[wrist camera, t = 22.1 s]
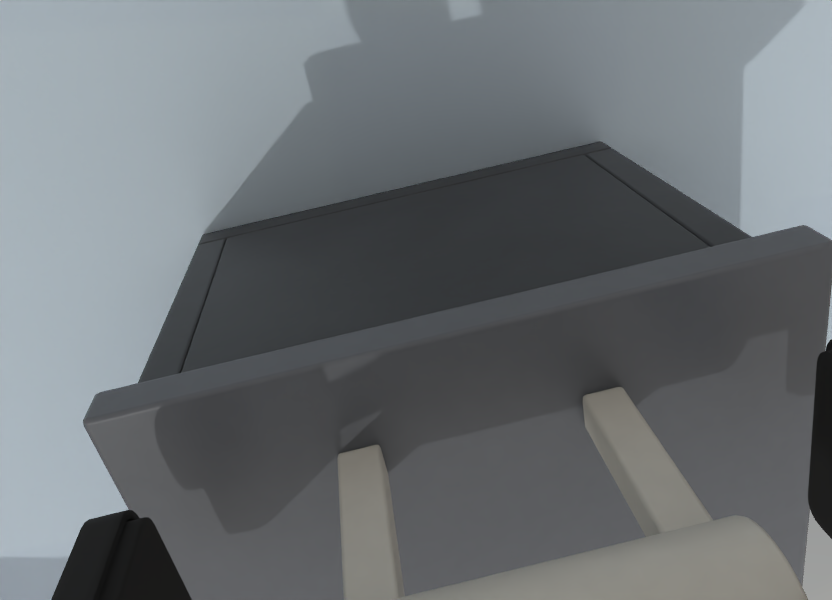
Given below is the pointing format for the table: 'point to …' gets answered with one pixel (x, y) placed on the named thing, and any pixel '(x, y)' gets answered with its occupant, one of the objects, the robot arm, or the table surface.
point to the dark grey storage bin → (424, 253)
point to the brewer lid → (504, 444)
